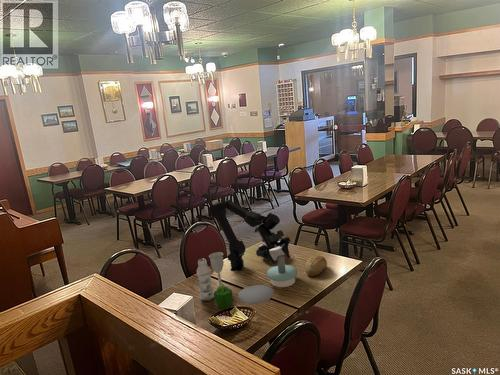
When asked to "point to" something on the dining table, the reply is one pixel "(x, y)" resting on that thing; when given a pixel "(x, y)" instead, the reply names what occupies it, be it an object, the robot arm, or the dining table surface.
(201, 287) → the plastic bottle
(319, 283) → the dining table surface
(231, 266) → the robot arm
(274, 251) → the paper bowls
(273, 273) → the lid
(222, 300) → the bell pepper
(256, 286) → the mat
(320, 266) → the bread roll
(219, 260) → the chalice
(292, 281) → the bowl
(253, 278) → the dining table surface
